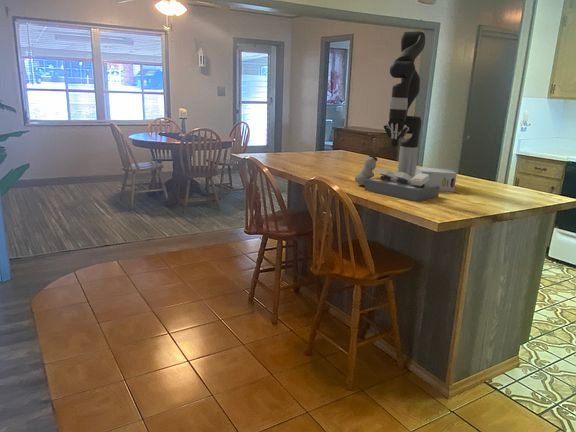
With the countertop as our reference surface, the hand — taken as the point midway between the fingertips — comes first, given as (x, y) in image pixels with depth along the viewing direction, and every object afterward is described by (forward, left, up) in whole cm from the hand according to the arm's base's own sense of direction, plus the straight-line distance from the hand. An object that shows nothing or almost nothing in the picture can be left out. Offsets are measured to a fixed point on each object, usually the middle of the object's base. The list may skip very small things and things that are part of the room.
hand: (394, 147), depth 209 cm
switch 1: (-1, -4, -14) cm, 14 cm away
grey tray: (-1, +5, -21) cm, 21 cm away
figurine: (-1, -16, -21) cm, 26 cm away
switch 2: (-1, +5, -14) cm, 15 cm away
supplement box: (-27, +7, -21) cm, 35 cm away
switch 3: (-2, +14, -14) cm, 20 cm away
